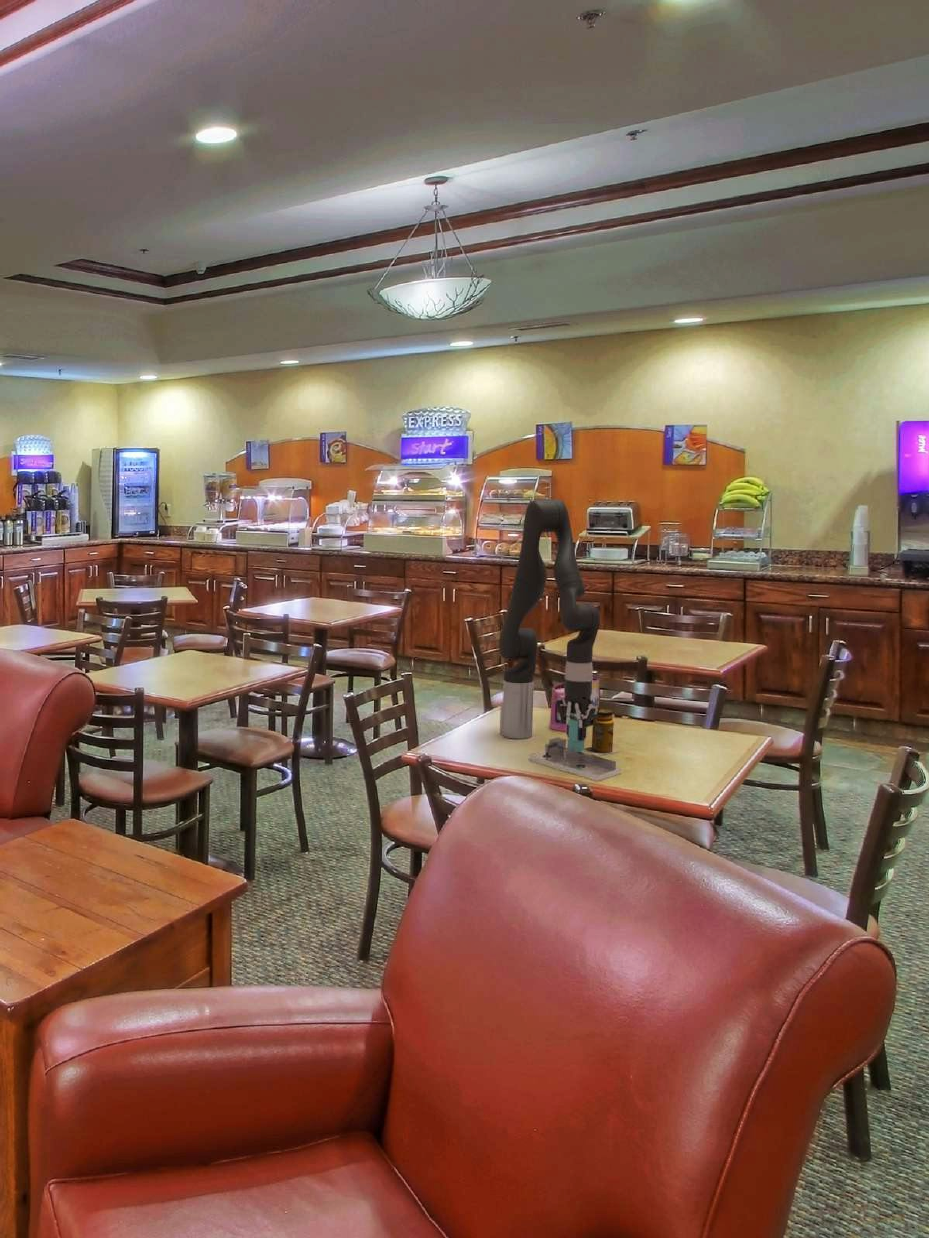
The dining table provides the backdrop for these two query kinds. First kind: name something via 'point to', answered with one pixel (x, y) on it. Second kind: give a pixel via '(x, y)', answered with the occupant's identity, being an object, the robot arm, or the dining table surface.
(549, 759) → the hole plate
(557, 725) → the gum box
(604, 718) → the condiment
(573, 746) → the leg
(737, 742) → the dining table surface
